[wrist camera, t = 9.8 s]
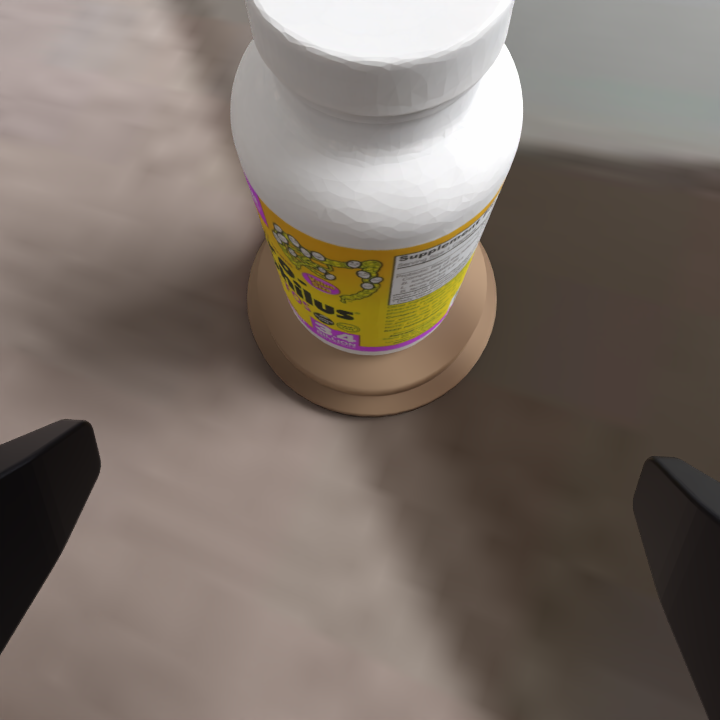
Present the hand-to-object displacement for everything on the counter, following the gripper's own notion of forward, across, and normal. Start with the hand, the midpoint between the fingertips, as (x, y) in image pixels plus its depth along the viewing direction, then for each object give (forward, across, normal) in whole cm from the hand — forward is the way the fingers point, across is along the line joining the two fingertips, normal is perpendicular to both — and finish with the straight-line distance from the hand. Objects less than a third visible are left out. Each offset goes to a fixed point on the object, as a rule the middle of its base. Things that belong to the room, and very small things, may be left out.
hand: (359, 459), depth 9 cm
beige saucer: (+15, +1, +2) cm, 15 cm away
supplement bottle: (+13, +1, +1) cm, 13 cm away
